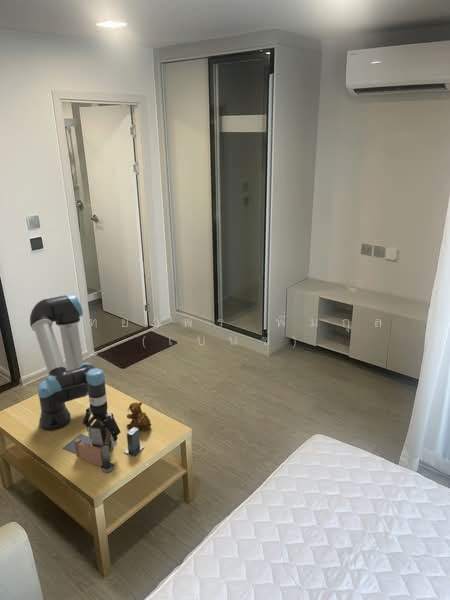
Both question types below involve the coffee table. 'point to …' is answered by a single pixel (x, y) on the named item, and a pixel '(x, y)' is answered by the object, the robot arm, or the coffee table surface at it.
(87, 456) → the gate
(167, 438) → the coffee table surface
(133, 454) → the post
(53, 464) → the coffee table surface
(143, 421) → the stuffed squirrel
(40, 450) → the coffee table surface
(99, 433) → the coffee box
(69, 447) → the mat
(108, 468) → the hinge post
